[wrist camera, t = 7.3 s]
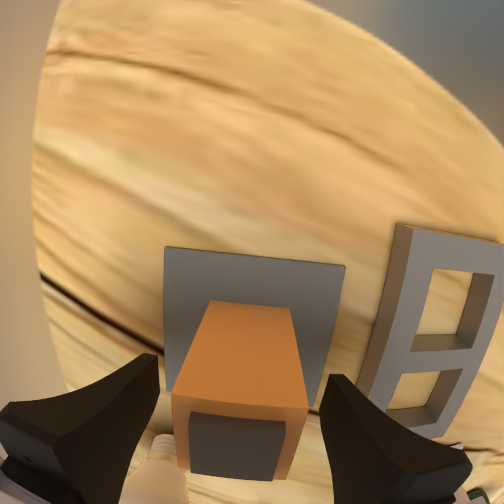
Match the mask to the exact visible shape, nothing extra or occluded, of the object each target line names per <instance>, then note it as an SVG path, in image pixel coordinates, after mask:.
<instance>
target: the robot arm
mask: <svg viewBox="0 0 504 504" xmlns="http://www.w3.org/2000/svg"><path fill="white" fill-rule="evenodd" d="M159 394H160V384H159V370H158V356H157V355H152V354H147V353H143V354H142V355H140V356H138V357H137V358H135V359H134V360H132V361H131V362H129V363H128V364H126V365H125V366H123V367H121V368H120V369H118V370H117V371H115V372H113V373H112V374H110V375H108V376H106V377H104V378H102V379H100V380H99V381H97V382H95V383H93V384H90V385H88V386H86V387H83V388H81V389H78V390H76V391H73V392H69V393H66V394H63V395H59V396H56V397H51V398H46V399H40V400H32V401H18V402H9V403H8V404H7V405H6V406H5V407H4V408H3V409H2V410H1V411H0V442H1V444H2V446H3V448H4V449H5V451H6V453H7V454H8V457H7V458H6V460H4V459H3V458H2V457H1V456H0V504H119V500H120V496H121V492H122V488H123V485H124V481H125V478H126V475H127V471H128V468H129V465H130V462H131V459H132V456H133V453H134V451H135V449H136V446H137V444H138V442H139V440H140V438H141V436H142V434H143V432H144V430H145V428H146V426H147V424H148V422H149V420H150V418H151V416H152V414H153V412H154V409H155V407H156V404H157V400H158V397H159ZM319 413H320V424H321V431H322V435H323V439H324V443H325V447H326V451H327V455H328V460H329V464H330V468H331V473H332V481H333V491H334V504H487V503H486V501H485V499H484V498H483V496H480V497H478V498H476V499H473V500H471V501H470V499H469V497H468V495H467V493H466V492H465V490H464V488H463V486H462V484H463V483H464V482H465V481H466V479H467V478H468V477H469V475H470V473H471V471H472V468H473V467H472V463H471V462H470V460H469V458H468V457H467V455H466V453H465V452H464V450H462V449H463V447H464V446H463V444H458V445H454V446H446V445H443V444H440V443H437V442H435V441H432V440H429V439H427V438H425V437H423V436H421V435H419V434H417V433H415V432H413V431H411V430H409V429H407V428H406V427H404V426H402V425H401V424H399V423H398V422H396V421H395V420H393V419H392V418H391V417H389V416H388V415H387V414H385V413H384V412H383V411H382V410H380V409H379V408H378V407H377V406H376V405H375V404H373V403H372V402H371V401H370V400H369V399H368V398H367V397H366V396H365V395H364V394H363V393H362V392H361V391H360V390H359V389H358V388H357V387H356V386H355V385H354V384H353V383H352V382H351V381H350V380H349V379H348V378H347V377H346V376H345V375H344V374H329V378H328V381H327V385H326V388H325V392H324V395H323V398H322V402H321V405H320V408H319Z"/></svg>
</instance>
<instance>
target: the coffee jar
mask: <svg viewBox="0 0 504 504" xmlns="http://www.w3.org/2000/svg"><path fill="white" fill-rule="evenodd" d="M467 495H468V497H469V499H470V501H471V500H473V499H476V498H478V497H480V496H483V498H484V499H485V501H486V503H487V504H490V502H489V499H488V497H487V495H486V493H485V492H484V491H483V490H476V491H473V492H470V493H468V494H467Z"/></svg>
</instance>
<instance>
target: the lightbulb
mask: <svg viewBox="0 0 504 504" xmlns="http://www.w3.org/2000/svg"><path fill="white" fill-rule="evenodd" d="M184 473H185V469H180V468H178V467H177V458H176V449H175V439H174V435H171V434H160V435H157V436H156V437H155V438H154V440H153V443H152V447H151V448H150V451H149V453H148V456H147V458H146V460H145V461H144V462H142V463H141V464H140V465H139V466H138V467H137V469H136V470H135V471H134V473H133V474H131V475H130V476H128V477H126V478H125V481H124V485H123V488H122V492H121V496H120V500H119V504H193V503H192V502H191V500H190V498H189V496H188V493H187V480H186V476H185V474H184Z"/></svg>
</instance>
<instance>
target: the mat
mask: <svg viewBox="0 0 504 504" xmlns="http://www.w3.org/2000/svg"><path fill="white" fill-rule="evenodd" d="M345 268H346V267H345V266H344V265H336V264H327V263H317V262H308V261H298V260H289V259H279V258H270V257H261V256H251V255H242V254H232V253H223V252H214V251H205V250H195V249H186V248H177V247H168V246H166V247H165V249H164V352H165V374H166V391H169V392H172V389H173V387H174V385H175V382H176V380H177V377H178V375H179V373H180V370H181V368H182V366H183V363H184V361H185V358H186V356H187V354H188V351H189V349H190V347H191V344H192V342H193V340H194V337H195V335H196V333H197V330H198V328H199V326H200V323H201V321H202V319H203V316H204V314H205V312H206V309H207V307H208V305H209V303H210V300H216V301H224V302H233V303H242V304H251V305H261V306H271V307H281V308H290V312H291V317H292V322H293V327H294V332H295V337H296V342H297V347H298V352H299V357H300V362H301V368H302V373H303V378H304V383H305V389H306V394H307V399H308V405H309V407H313V404H314V401H315V397H316V394H317V390H318V387H319V383H320V380H321V376H322V372H323V368H324V365H325V361H326V357H327V353H328V349H329V344H330V340H331V336H332V332H333V327H334V323H335V318H336V314H337V309H338V304H339V300H340V295H341V290H342V284H343V279H344V274H345Z"/></svg>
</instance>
